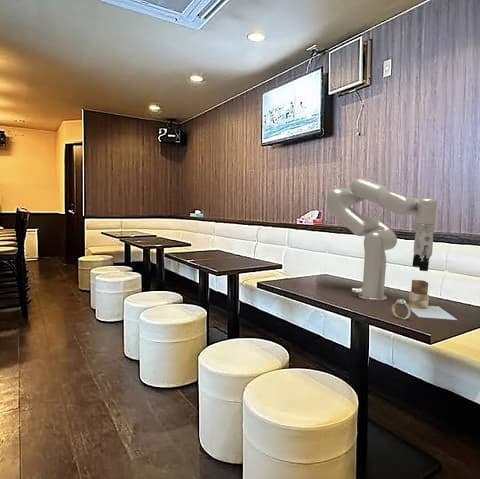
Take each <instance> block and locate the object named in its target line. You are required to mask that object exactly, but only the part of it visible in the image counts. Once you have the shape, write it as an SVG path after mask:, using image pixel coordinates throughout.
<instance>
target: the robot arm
mask: <svg viewBox="0 0 480 479" xmlns="http://www.w3.org/2000/svg"><path fill="white" fill-rule="evenodd" d="M364 200H366V201H369V202H371V203H374V204H376V205H378V206H379V207H380V208H382V209H385V210H387V211H390V212H392V213H394V214H396V215H397V214H398V215H402V216H403V215H405V216H407V215H408V216H412V215H413V216H415V219H414V220H415V222H414V232H415V234H414V235H415V237H414V242H413V255H412V256H413V258H412V267H414V268H419V271H421V272H428V271H429V265H430V257H432V256H433V246H434V233H435V226H436V220H437V211H438V210H437V209H438V201H437V199H435V198H425V197H424V198H423V197H422V198H418V197H417V198H416V197H413V196H412V197H411V196H402V195H400V194H396V193H394V192H392V191H389V190H388V188H387V187H386V185H384V184H383V185H382V184H379V183H377V182H376V181H375V180H374V179H371V178H364V177H357V178H355V179H353V180H352V181H351V183H350V185H349V188H345V187H341V188H340V187H335V188H333V189H331V190H330V191H328V193H327V195H326V205H327V208H328V210H329V212H330V213H331V215H333V216H334V217H335V218H336V219H337V220H339V221H340V222H341V223H342V225H343V226H345V227H346V229H348V230H349V231H351V233H353V234H354V235H355V236H357V237H364V238H363V247H364V248H363V250H364V260H363V276H362V277H363V278H362V286H360V287H358V288H356V287H355V288H354V287H352V288H351V292H352V293H356V294H358V297H359V298H360V299H362V300H365V301H366V300H373V301H374V300H376V301H382V300H383V301H385V300H387V299H388V296H386V295H385V280H386V271H387V270H386V269H387V268H386V267H387V256H386V251H390V250H392V249H394V248H395V247H396V245H397V243H398V237H397V236H396V234H395V232H394V231H393V230H392V229H390V228H389V227H388V226H386V224H384V223H383V222H382V221H380V220H379V219H378V218H376V217H373V216H364V215H361V214H360V213H359V212H358V211H356V210H355V209H354V208H352V206H353V205H356V204H358V203H361V202H363V201H364Z"/></svg>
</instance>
